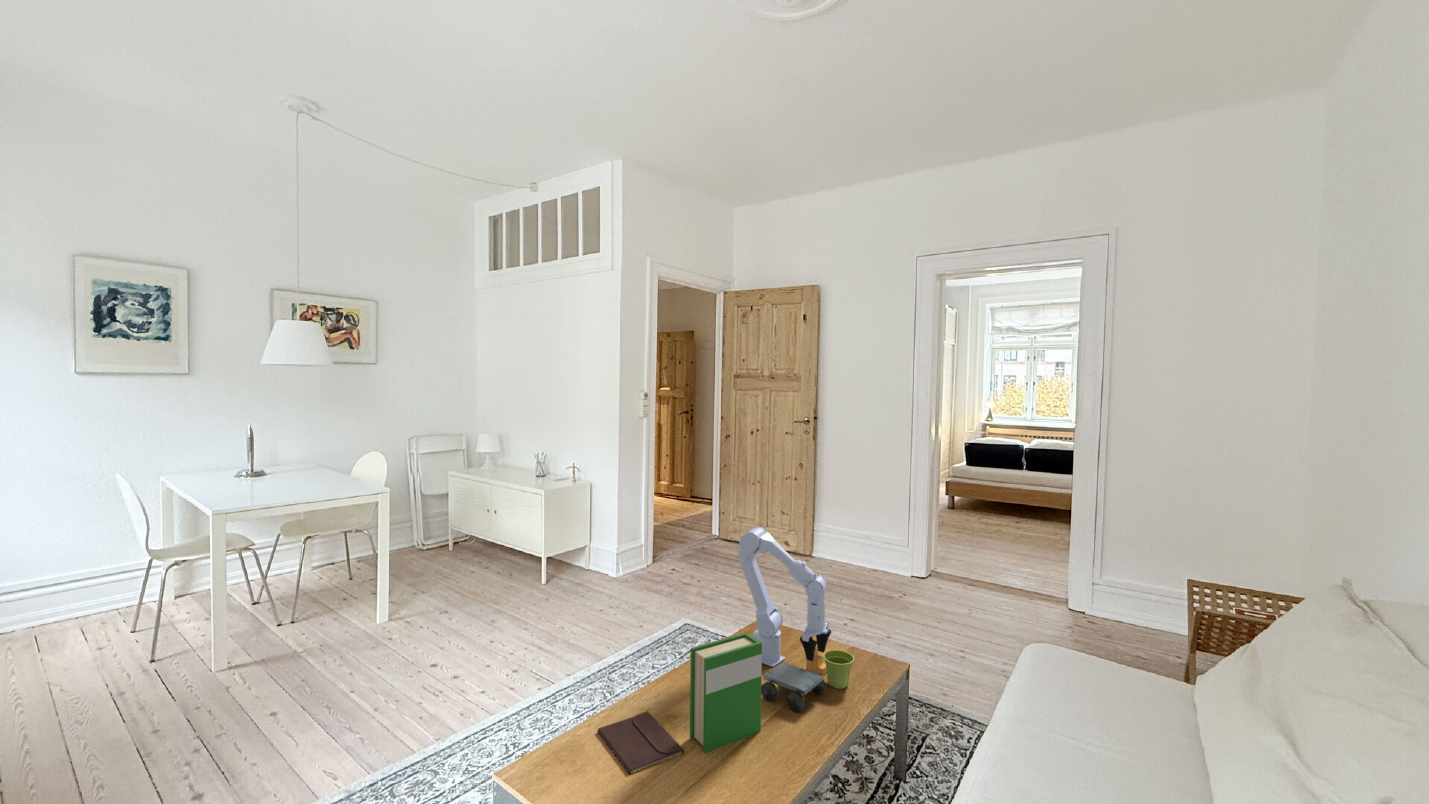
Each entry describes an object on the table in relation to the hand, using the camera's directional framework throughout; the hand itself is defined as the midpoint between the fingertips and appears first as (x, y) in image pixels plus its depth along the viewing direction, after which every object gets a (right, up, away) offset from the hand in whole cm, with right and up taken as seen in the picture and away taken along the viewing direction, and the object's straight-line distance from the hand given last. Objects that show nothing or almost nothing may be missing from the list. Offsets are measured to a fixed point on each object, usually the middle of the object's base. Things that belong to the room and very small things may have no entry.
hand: (815, 655), depth 193 cm
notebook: (-52, -6, -40) cm, 66 cm away
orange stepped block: (+1, -5, 0) cm, 5 cm away
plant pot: (+5, -5, -9) cm, 12 cm away
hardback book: (-30, -6, -36) cm, 47 cm away
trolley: (-9, -5, -17) cm, 20 cm away
